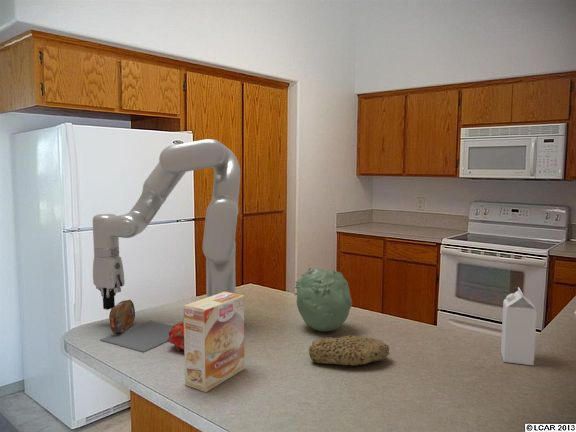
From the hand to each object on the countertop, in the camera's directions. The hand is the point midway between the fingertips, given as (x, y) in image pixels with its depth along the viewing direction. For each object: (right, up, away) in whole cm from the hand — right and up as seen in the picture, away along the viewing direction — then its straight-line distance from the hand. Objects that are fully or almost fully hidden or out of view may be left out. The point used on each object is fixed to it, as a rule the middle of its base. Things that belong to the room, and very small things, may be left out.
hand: (109, 308), depth 148 cm
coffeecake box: (+40, -10, -36) cm, 55 cm away
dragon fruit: (+30, -8, -18) cm, 36 cm away
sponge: (+75, -9, -26) cm, 80 cm away
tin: (+6, -6, -3) cm, 9 cm away
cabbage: (+69, -7, -3) cm, 70 cm away
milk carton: (+120, -9, -25) cm, 123 cm away
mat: (+15, -7, -8) cm, 18 cm away
